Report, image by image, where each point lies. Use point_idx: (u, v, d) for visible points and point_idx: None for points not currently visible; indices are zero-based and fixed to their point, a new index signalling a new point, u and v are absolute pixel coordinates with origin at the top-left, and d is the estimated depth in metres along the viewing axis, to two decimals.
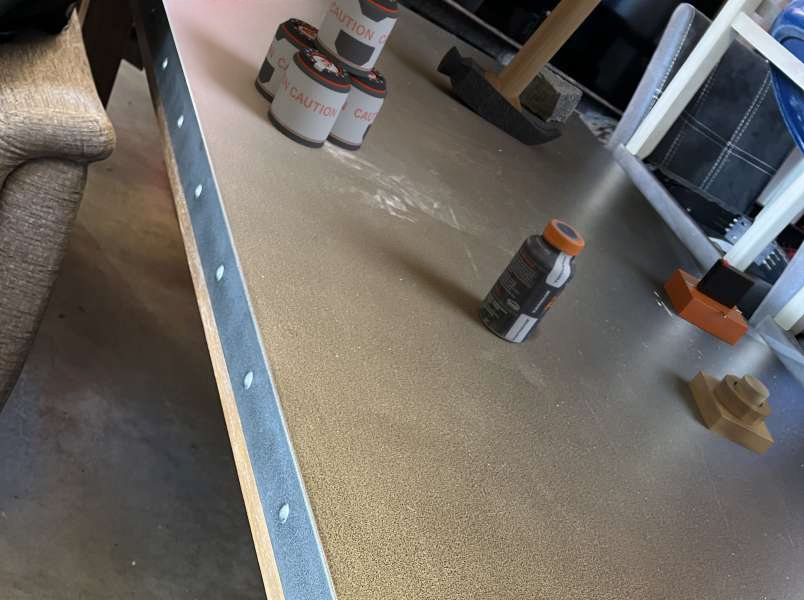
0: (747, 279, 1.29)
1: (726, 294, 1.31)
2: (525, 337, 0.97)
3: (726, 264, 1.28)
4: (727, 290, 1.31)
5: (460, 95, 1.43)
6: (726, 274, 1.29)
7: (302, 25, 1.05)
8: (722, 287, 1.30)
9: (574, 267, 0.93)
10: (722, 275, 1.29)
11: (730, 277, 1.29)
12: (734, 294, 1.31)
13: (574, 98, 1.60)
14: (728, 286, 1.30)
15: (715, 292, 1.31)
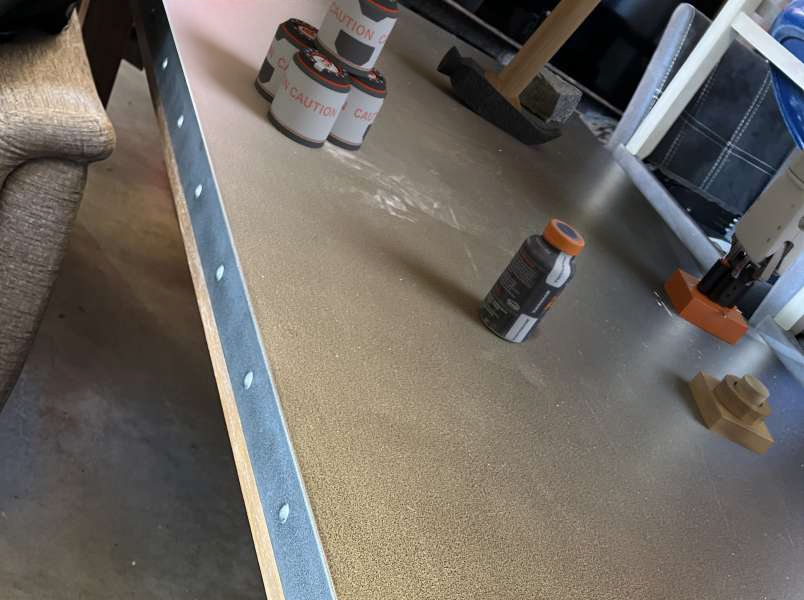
0: None
1: None
2: (525, 337, 0.97)
3: (726, 264, 1.28)
4: None
5: (460, 95, 1.43)
6: None
7: (302, 25, 1.05)
8: None
9: (574, 267, 0.93)
10: (722, 275, 1.29)
11: None
12: None
13: (574, 98, 1.60)
14: None
15: None
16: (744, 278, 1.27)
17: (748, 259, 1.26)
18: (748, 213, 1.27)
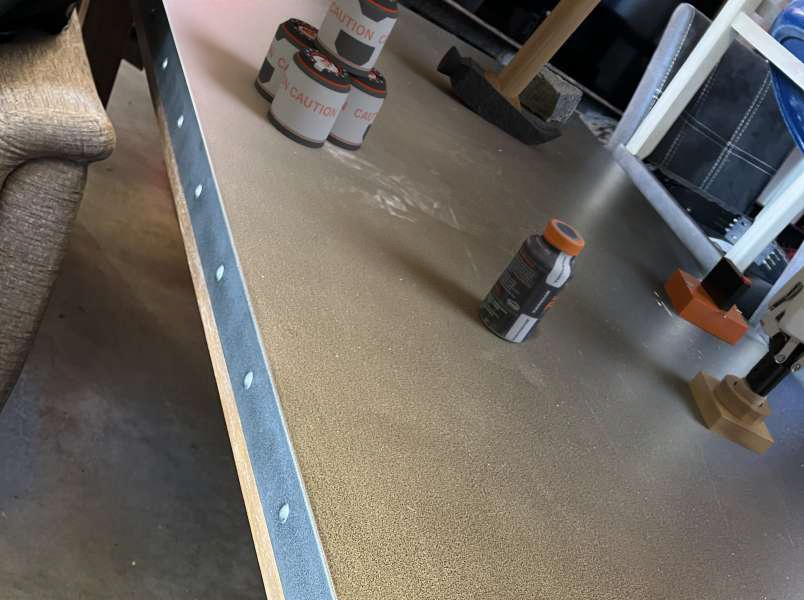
0: (734, 265, 1.31)
1: None
2: (525, 337, 0.97)
3: None
4: None
5: (460, 95, 1.43)
6: None
7: (302, 25, 1.05)
8: None
9: (574, 267, 0.93)
10: None
11: None
12: None
13: (574, 98, 1.60)
14: None
15: None
16: None
17: None
18: None
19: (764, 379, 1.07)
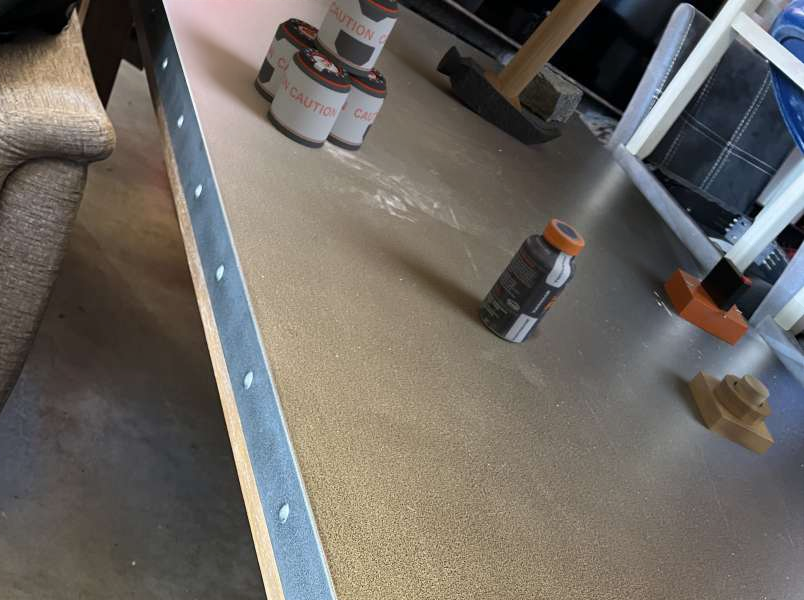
0: (734, 265, 1.31)
1: None
2: (525, 337, 0.97)
3: None
4: None
5: (460, 95, 1.43)
6: None
7: (302, 25, 1.05)
8: None
9: (574, 267, 0.93)
10: None
11: None
12: None
13: (574, 98, 1.60)
14: None
15: None
16: None
17: None
18: None
19: None
